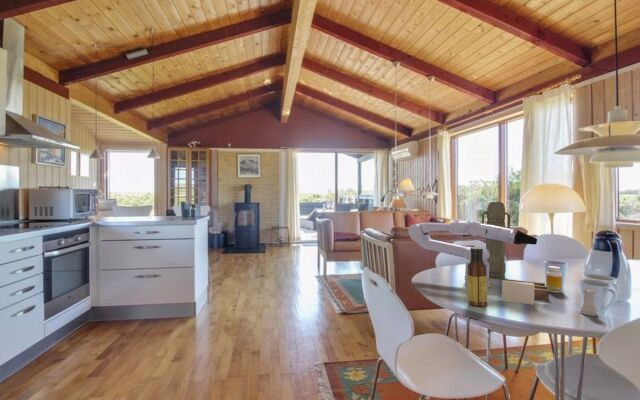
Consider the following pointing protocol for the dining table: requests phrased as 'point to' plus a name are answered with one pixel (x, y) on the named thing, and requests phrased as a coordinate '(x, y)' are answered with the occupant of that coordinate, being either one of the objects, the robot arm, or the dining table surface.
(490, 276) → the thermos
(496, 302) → the dining table surface
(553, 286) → the supplement bottle
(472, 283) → the sauce bottle
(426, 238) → the robot arm
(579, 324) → the dining table surface
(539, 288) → the rack
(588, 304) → the rook chess piece
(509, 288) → the beige rectangular block
